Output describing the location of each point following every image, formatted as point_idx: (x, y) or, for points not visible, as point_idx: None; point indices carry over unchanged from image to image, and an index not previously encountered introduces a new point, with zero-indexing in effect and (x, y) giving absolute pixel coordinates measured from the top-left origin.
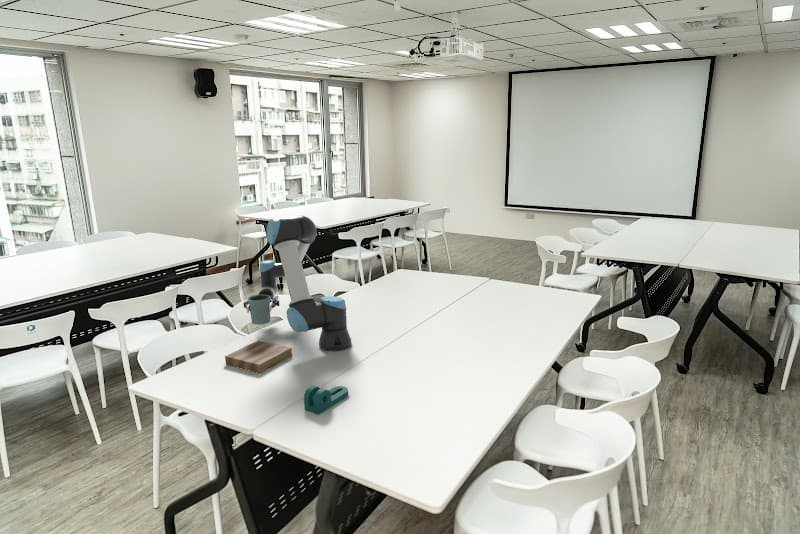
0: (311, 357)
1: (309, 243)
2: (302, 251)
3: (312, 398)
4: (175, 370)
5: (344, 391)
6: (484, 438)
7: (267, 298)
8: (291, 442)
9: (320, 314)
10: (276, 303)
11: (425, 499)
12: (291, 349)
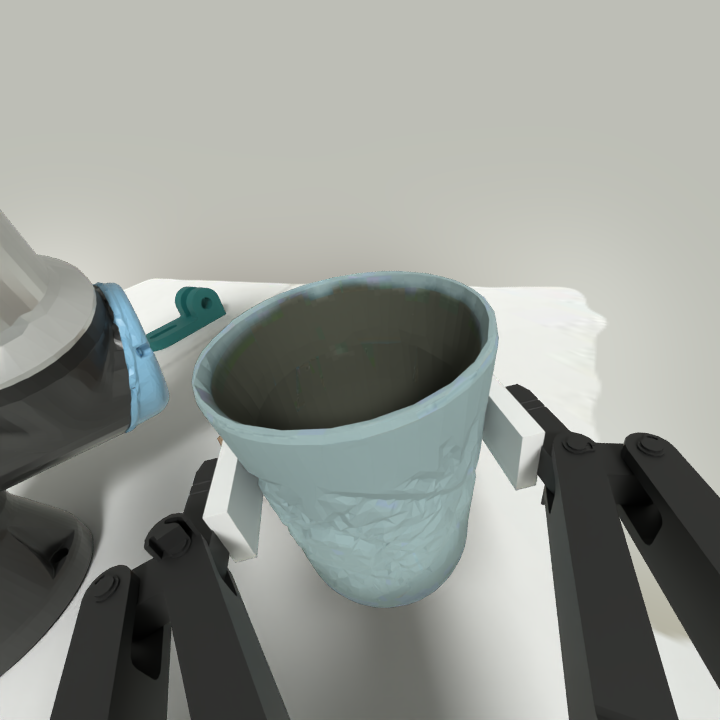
0: (163, 462)
1: None
2: None
3: (206, 300)
4: (577, 338)
5: (150, 334)
6: None
7: (229, 324)
8: (247, 284)
9: None
10: (158, 568)
11: (154, 279)
12: (220, 443)
